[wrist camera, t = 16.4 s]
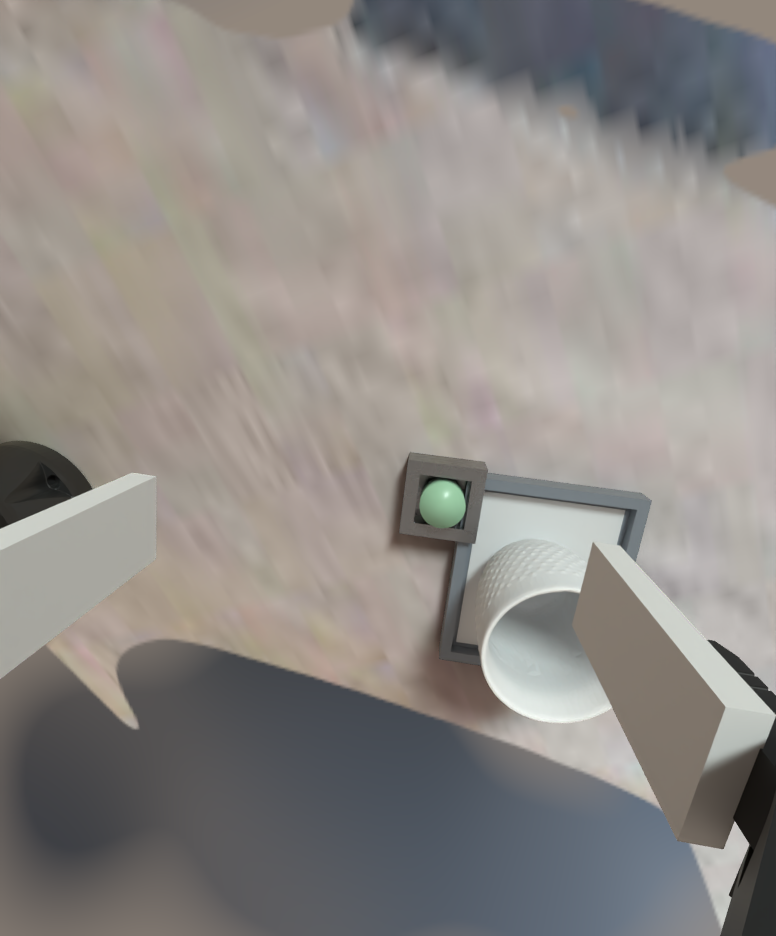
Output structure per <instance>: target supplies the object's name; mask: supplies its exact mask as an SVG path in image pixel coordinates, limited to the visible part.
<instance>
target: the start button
mask: <svg viewBox="0 0 776 936" xmlns="http://www.w3.org/2000/svg"><path fill="white" fill-rule="evenodd" d="M419 507H420V513H421V515H422V517H423V519H424V520H425V521H426V522H427V523H428V524H430V525H431V526H433V527H436V528H449V527H452V526H454V525H456V524H457V523H458V522H459V521H460V520H461V519H462V518H463V516H464V513H465V509H466V504H465V499H464V493H463V491H462V489H461V487H460V486H459V485H458V484H457V483H456V482H455V481H453V480H451V479H448V478H436V479H433V480H431V481H430V482H428V483H427V484H426V485H425V486H424V488H423V489H422V492H421V496H420V506H419Z"/></svg>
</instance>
